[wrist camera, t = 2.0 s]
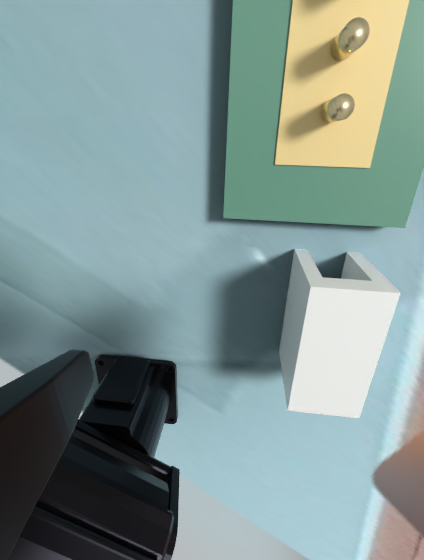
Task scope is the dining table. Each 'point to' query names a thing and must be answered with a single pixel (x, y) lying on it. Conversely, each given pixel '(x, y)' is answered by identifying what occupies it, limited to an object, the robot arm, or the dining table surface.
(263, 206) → the board
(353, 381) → the box
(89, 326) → the dining table surface
